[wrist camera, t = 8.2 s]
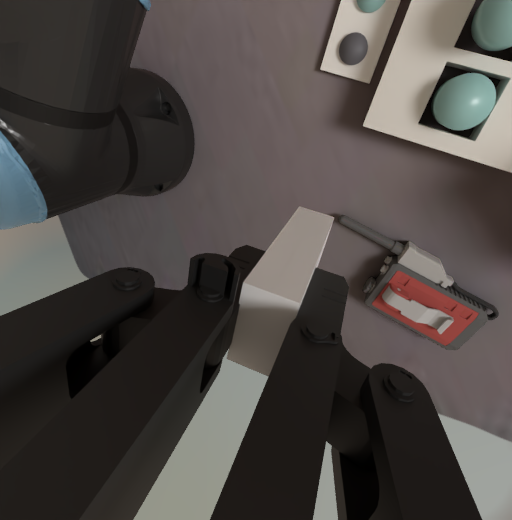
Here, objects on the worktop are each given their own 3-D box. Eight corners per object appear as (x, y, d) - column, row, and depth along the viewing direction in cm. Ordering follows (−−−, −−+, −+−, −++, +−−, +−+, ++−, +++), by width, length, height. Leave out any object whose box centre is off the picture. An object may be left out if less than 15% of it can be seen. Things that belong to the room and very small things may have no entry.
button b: (460, 43, 27) (469, 35, 24) (490, -21, 25) (505, -40, 22) (514, 57, 26) (532, 51, 23) (551, -9, 24) (576, -26, 21)
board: (365, 124, 34) (362, 126, 32) (476, -162, 24) (486, -193, 22) (508, 169, 32) (518, 175, 29) (701, -132, 22) (741, -163, 19)
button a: (422, 119, 32) (425, 121, 29) (445, 70, 30) (452, 66, 26) (467, 132, 31) (476, 137, 28) (494, 83, 29) (507, 81, 26)
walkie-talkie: (511, 292, 36) (345, 205, 39) (524, 315, 33) (340, 217, 35) (456, 344, 41) (311, 264, 43) (462, 369, 37) (303, 279, 40)
